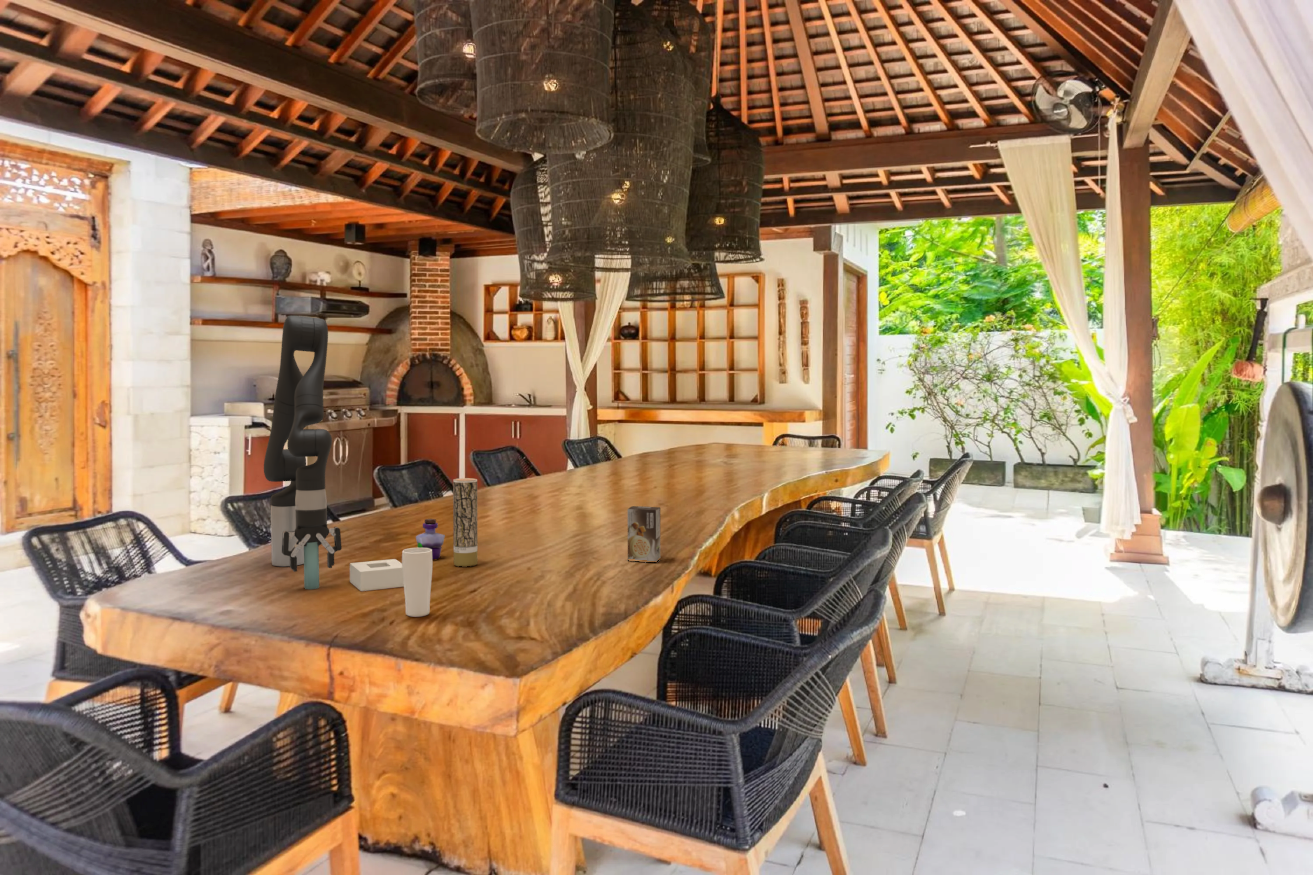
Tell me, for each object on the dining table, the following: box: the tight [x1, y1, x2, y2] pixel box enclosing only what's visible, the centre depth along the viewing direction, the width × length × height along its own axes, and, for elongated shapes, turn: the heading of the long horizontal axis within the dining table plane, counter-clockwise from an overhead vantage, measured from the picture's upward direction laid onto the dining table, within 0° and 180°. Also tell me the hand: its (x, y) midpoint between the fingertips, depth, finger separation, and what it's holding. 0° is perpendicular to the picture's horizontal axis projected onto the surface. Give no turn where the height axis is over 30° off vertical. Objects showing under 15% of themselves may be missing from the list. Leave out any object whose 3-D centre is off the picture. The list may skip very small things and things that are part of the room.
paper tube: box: [452, 477, 478, 568], centre depth 263 cm, size 7×7×25 cm
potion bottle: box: [415, 518, 446, 561], centre depth 273 cm, size 9×9×12 cm
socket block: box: [349, 558, 404, 592], centre depth 239 cm, size 12×12×5 cm
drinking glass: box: [401, 547, 433, 618], centre depth 209 cm, size 7×7×15 cm
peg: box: [303, 542, 320, 590], centre depth 234 cm, size 4×4×12 cm
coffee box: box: [627, 505, 661, 561], centre depth 273 cm, size 9×6×16 cm
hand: (312, 569), depth 234 cm, fingers open, 8 cm apart
